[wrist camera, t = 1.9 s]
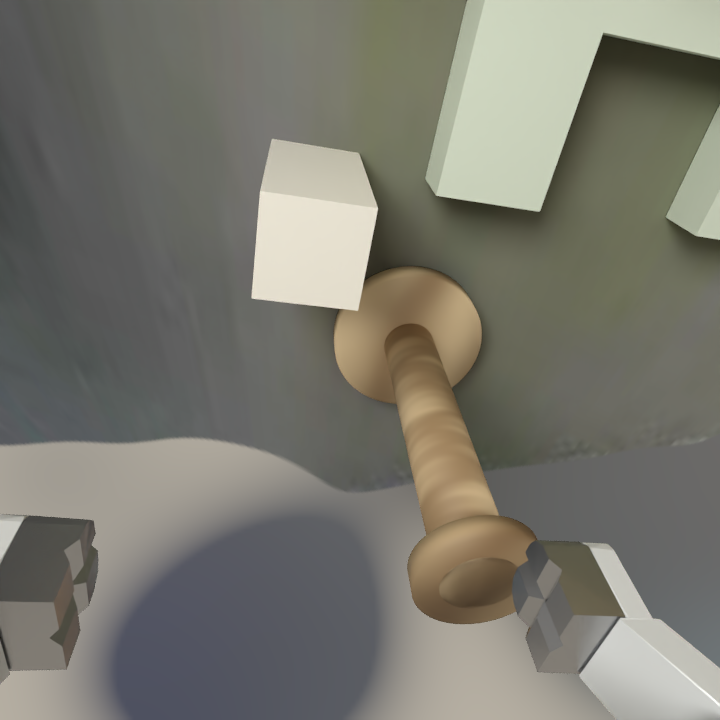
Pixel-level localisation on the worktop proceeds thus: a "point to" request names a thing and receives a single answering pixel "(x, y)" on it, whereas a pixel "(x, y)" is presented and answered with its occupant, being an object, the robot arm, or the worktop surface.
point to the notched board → (555, 96)
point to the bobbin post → (435, 437)
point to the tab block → (313, 227)
